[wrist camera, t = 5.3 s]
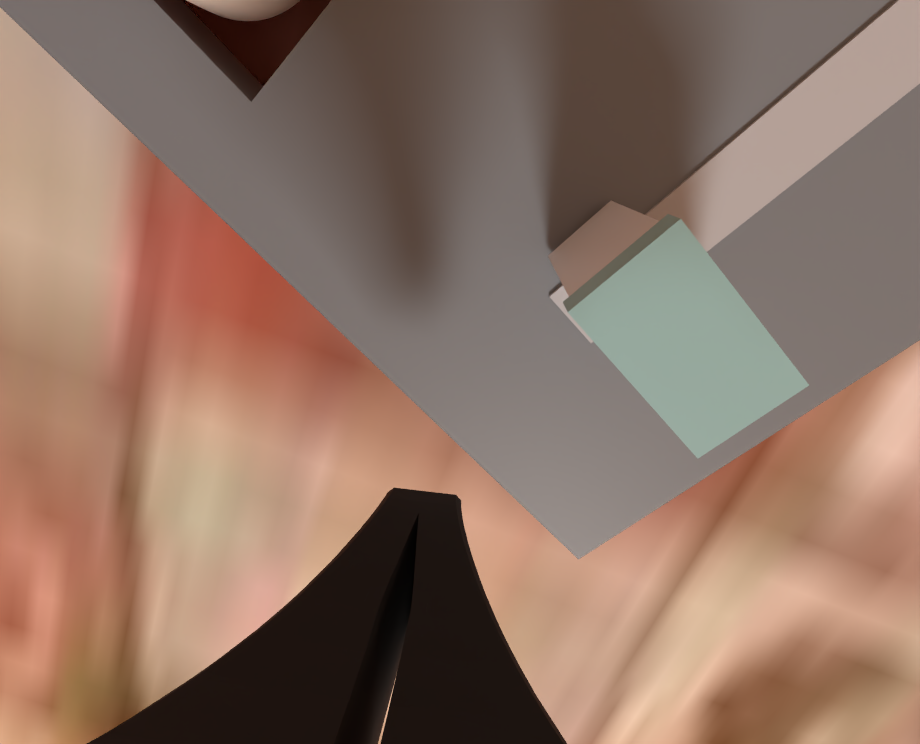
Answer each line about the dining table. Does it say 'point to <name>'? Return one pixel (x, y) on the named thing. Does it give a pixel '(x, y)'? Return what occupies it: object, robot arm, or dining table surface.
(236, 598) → the dining table surface
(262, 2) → the white button
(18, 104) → the dining table surface
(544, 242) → the control panel
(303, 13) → the dining table surface
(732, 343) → the pale green slider knob
